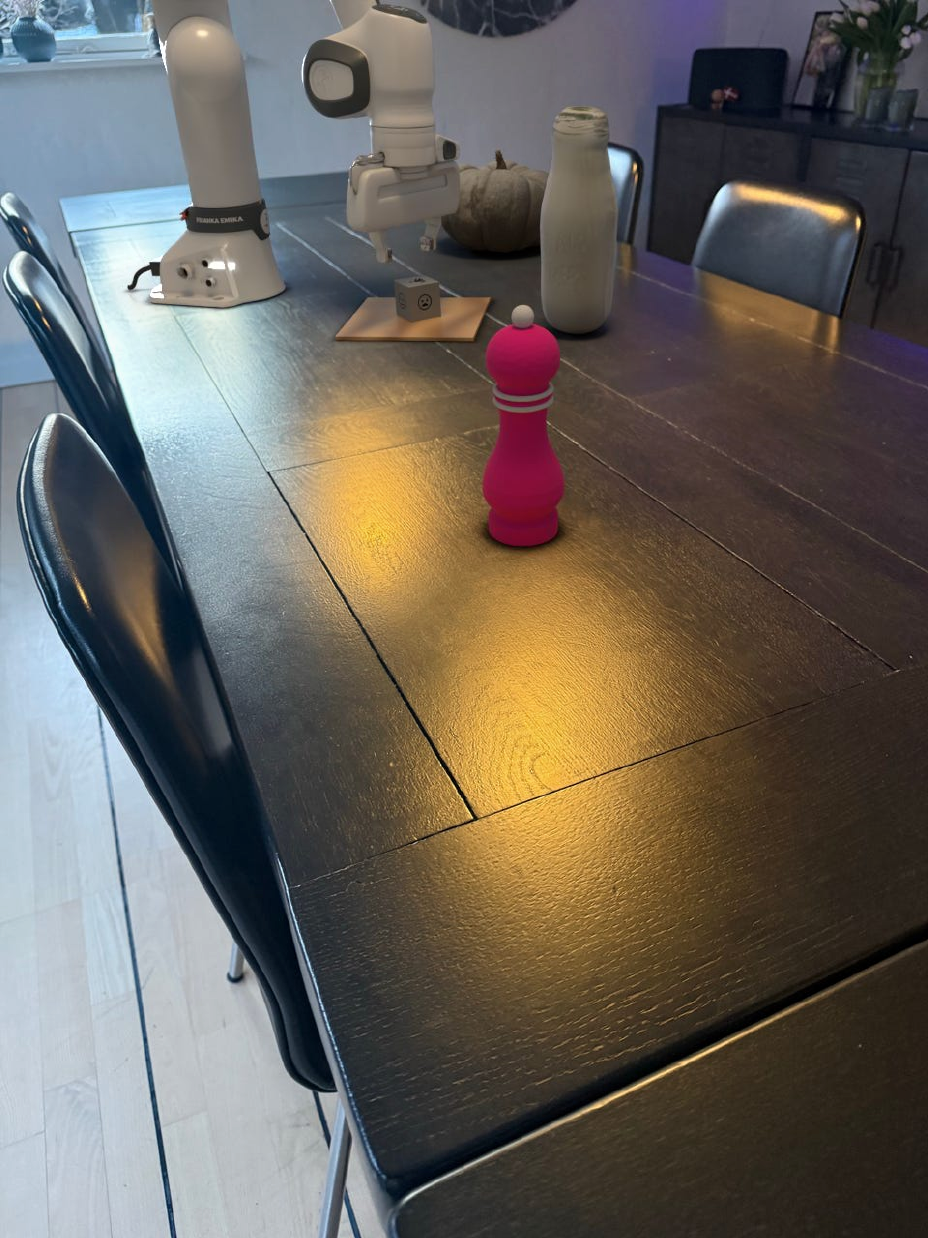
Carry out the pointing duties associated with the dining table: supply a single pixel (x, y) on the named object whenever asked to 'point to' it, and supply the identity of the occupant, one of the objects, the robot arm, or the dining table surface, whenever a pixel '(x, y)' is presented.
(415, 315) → the grey emoticon cube
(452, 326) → the brown wooden board
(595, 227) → the glass bottle
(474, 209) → the gourd
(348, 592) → the dining table surface
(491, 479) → the pepper mill
